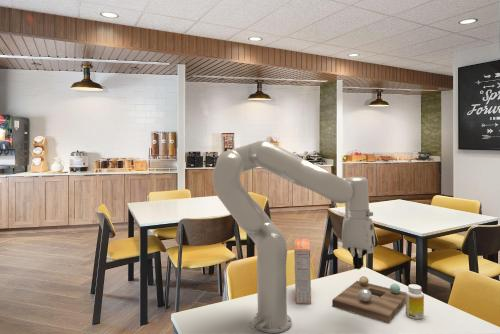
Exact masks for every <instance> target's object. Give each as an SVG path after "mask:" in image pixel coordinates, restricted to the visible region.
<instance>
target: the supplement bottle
mask: <svg viewBox="0 0 500 334" xmlns="http://www.w3.org/2000/svg"><path fill="white" fill-rule="evenodd" d="M405 292H406V303H405V315H406V316H407V317H409V318H410V319H415V320H421V319H423V318H424V315H425V314H424V312H425V310H424V309H425V308H424V307H425V306H424V305H425V304H424V302H425V296H424V295H425V294H424V293H423V291H422V286H421V285H418V284H413V283H411V284H408V289H407V290H406V291H405Z"/></svg>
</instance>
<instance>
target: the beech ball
mask: <svg viewBox="0 0 500 334" xmlns="http://www.w3.org/2000/svg"><path fill="white" fill-rule="evenodd" d="M358 281H359V282H360V284H361V285H363V286H365V285H367V284H368V283H370V282H369V278H368V277H366V276H364V275H363V276H360V277H359V280H358Z"/></svg>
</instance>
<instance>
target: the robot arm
mask: <svg viewBox="0 0 500 334" xmlns="http://www.w3.org/2000/svg"><path fill="white" fill-rule="evenodd" d="M215 163H216V164H215V166H214V170H213V174H212V186H213V189H214V192H215V194H216V196H217V198H218V199H219V201H221V203H222V204H223V205H224V207H225V208H226V210H227V212H228V213H229V214H230V215H231V216H232V218H233V219H234V220H235V222H236V223H237V225H238V227H239V228H240V229H242V231H245V233H246V234H247V235H248V237H249V238H250V239H251V240H252V242H253V243H254V244H255V247H256V252H257V253H256V254H257V257H256V283H257V285H256V286H257V287H256V288H257V289H256V290H257V291H256V292H257V313H256V315H255V316H254V318H253V319H252V320H251V321H250V322H249V323H248V325H249V327H250V328H251V329H254V328H256V329H257V330H258V331H261V332H262V333H263V332H264V333H267V334H278V333H282V332H285V331H287V330H289V329H290V328H291V327H292V324H293V323H292V322H293V321H292V318H291V317H290V316H289V315H288V310H287V308H288V306H287V257H288V243H287V239H286V238H285V236H284V234H283V233H282V232H281V230H280V229H278V227H277V225H276V224H275V223H274V222H273V221H272V220H271V219H270V217H269V216H268V214H267V213H266V212H265V211H264V210H263V209H264V208H262V206H261V205H260V204H259V203H258V202H257V201H256V200H254V199H253V198H252V195H250V193H249V192H248V190H247V189H246V188H245V186H244V185H243V183H242V182H241V174H242V173H243V172H247V171H250V170H252V169H257V168H262V169H263V170H266V171H268V172H269V173H271V174H274V175H275V176H278V177H280V178H282V179H284V180H285V181H288V182H290V183H292V184H294V185H296V186H299V187H302V188H304V189H308V190H309V191H312V192H314V193H316V194H318V195H320V196H322V197H324V198H326V199H327V200H329V201H331V202H334V203H335V204H344V206H345V207H344V209H345V212H344V213H345V216H344V217H343V221H342V227H341V244H342V245H341V247H342V249H344V250H346V251H348V252H349V254H350V256H351V257H352V265H353V269H354V270H361V269H362V268H363V267H364V257H365V256H366V255H367V254H373V253H374V252H375V249H374V247H375V246H376V237H375V227H374V223H373V219H372V218H371V217H374V212H373V211H370V205H369V203H370V201H369V198H370V197H369V180H368V178H367V177H364V176H350V177H340V176H337V175H336V174H334V173H331V172H329V171H327V170H325V169H323V168H321V167H319V166H317V165H316V164H313V163H312V162H310V161H308V160H306V159H305V158H302V157H301V156H298V155H297V154H295V153H292V152H290V151H288V150H286V149H285V148H283V147H281V146H278V145H277V144H276V143H275V144H274V143H272V142H270V141H267V140H260V141H259V140H258V141H256V142H252V143H249V144H246V145H243V146H239V147H236V148H232V149H229V150H225V151H223V152H221V153H220V154H219V155H218V157H217V159H216V162H215Z"/></svg>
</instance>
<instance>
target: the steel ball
mask: <svg viewBox="0 0 500 334" xmlns="http://www.w3.org/2000/svg"><path fill="white" fill-rule="evenodd" d="M359 298H360V300H361V301H363V302H369V301H370V300H371V299H372V294H371V292H370V291H369V290H368V289H362V290H360V292H359Z"/></svg>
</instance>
